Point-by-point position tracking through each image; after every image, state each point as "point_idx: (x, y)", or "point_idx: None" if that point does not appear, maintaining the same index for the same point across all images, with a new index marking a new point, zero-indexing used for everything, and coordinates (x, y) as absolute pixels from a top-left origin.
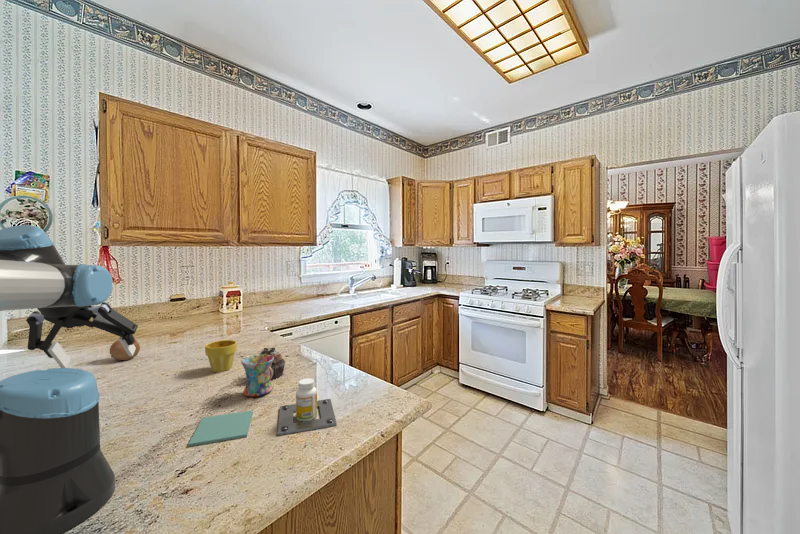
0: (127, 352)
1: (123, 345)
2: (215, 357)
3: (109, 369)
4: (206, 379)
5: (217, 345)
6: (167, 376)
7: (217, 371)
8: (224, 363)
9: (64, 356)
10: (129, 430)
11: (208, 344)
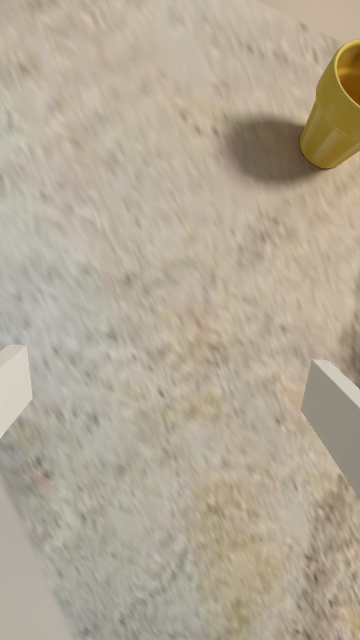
0: (319, 432)
1: (353, 481)
2: (347, 138)
3: (26, 11)
4: (304, 205)
5: (347, 59)
6: (200, 138)
7: (318, 165)
8: (350, 154)
9: (1, 393)
10: (226, 451)
11: (337, 60)
